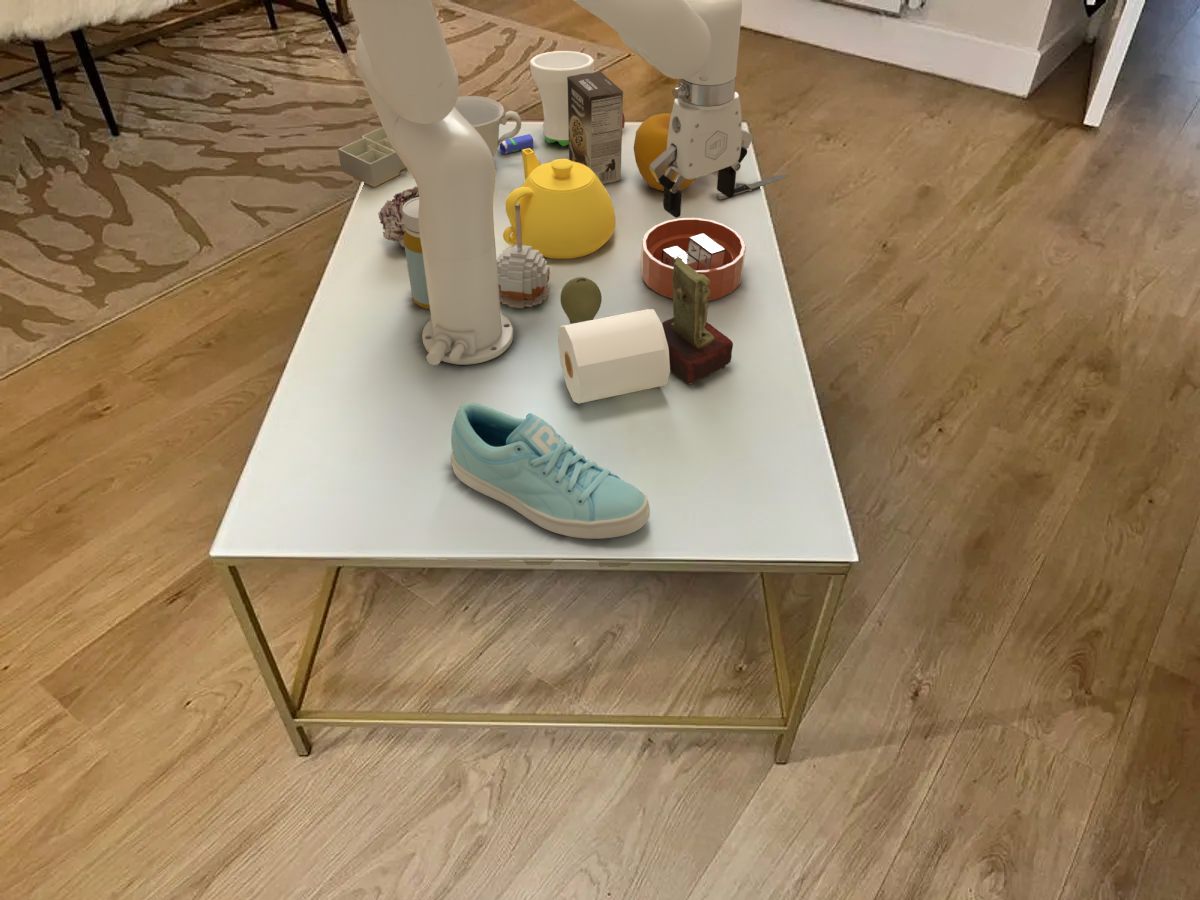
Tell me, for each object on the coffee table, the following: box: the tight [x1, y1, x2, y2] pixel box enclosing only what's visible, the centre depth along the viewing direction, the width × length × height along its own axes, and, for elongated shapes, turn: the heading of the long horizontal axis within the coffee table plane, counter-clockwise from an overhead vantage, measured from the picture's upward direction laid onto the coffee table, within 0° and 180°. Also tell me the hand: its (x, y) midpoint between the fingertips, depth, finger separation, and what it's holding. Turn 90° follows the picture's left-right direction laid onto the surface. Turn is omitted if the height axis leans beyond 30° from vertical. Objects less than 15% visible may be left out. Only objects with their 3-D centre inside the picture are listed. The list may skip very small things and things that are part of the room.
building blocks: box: [661, 233, 726, 270], centre depth 150 cm, size 5×5×8 cm
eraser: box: [499, 133, 534, 155], centre depth 182 cm, size 2×6×2 cm
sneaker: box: [450, 402, 651, 540], centre depth 114 cm, size 10×26×11 cm, turn 65°
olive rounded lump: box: [559, 276, 603, 324], centre depth 137 cm, size 6×6×10 cm
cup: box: [529, 50, 595, 147], centre depth 181 cm, size 11×11×14 cm
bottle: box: [402, 197, 430, 311], centre depth 143 cm, size 7×7×15 cm
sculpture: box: [661, 257, 734, 385], centre depth 132 cm, size 10×8×15 cm
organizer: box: [337, 126, 407, 188], centre depth 181 cm, size 30×10×4 cm, turn 140°
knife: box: [715, 174, 789, 200], centre depth 173 cm, size 15×1×3 cm
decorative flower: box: [377, 185, 419, 248], centre depth 156 cm, size 10×10×15 cm
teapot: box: [502, 148, 617, 260], centre depth 157 cm, size 20×19×13 cm
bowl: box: [640, 217, 747, 302], centre depth 151 cm, size 15×15×6 cm
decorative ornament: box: [496, 203, 551, 309], centre depth 143 cm, size 8×8×15 cm
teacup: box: [455, 95, 522, 158], centre depth 174 cm, size 12×15×10 cm
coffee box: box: [567, 70, 624, 185], centre depth 171 cm, size 9×6×16 cm
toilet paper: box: [557, 308, 671, 404], centre depth 130 cm, size 10×10×12 cm
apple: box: [633, 112, 697, 192], centre depth 169 cm, size 13×13×11 cm
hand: (698, 203), depth 144 cm, fingers open, 9 cm apart
